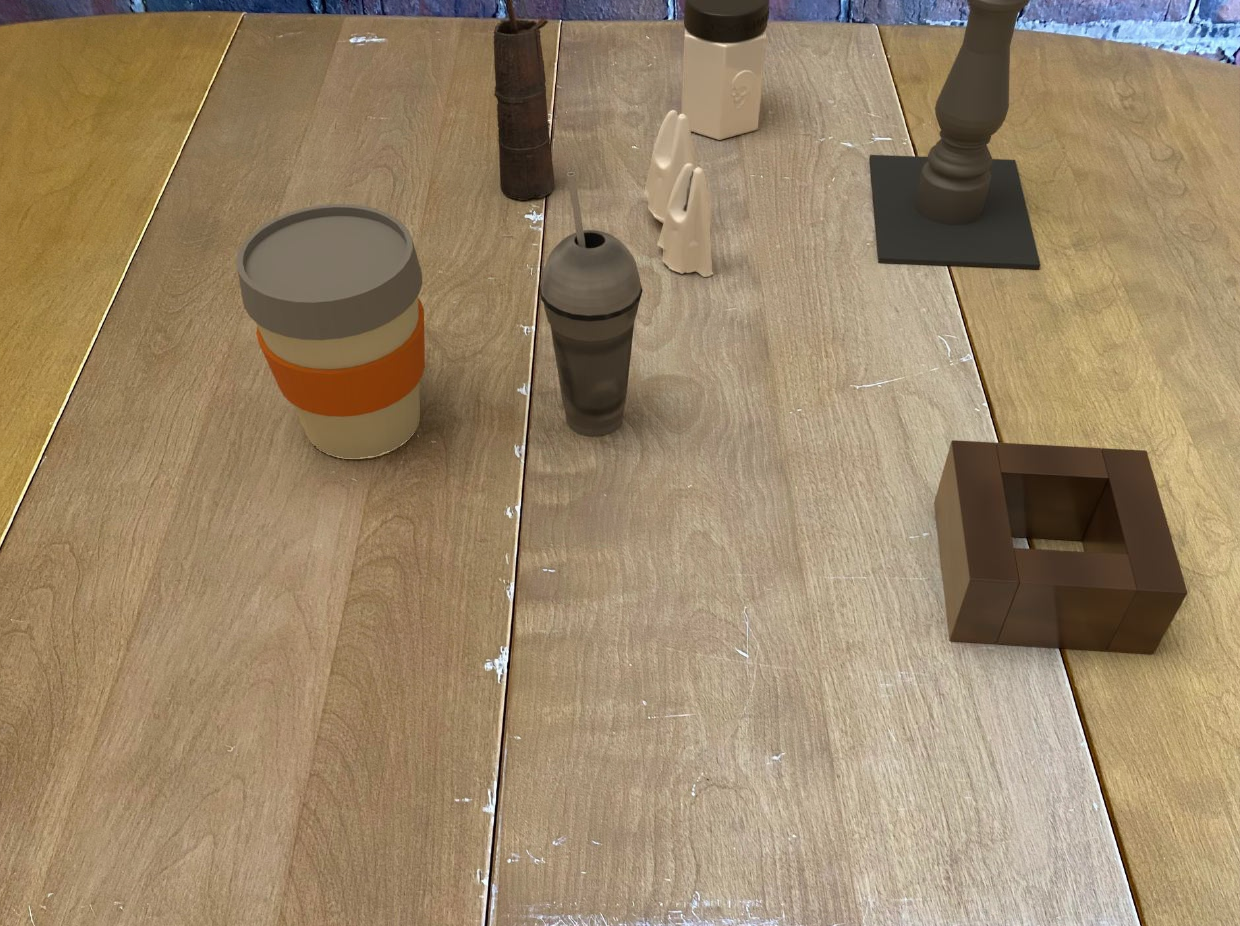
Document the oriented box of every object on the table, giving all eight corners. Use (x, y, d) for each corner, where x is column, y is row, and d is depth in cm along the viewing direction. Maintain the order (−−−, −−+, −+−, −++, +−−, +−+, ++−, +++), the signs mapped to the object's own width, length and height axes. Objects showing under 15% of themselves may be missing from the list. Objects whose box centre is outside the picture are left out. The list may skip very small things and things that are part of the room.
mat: (1014, 164, 115) (1015, 159, 114) (1039, 269, 103) (1040, 264, 103) (869, 159, 116) (869, 154, 115) (878, 262, 104) (879, 257, 104)
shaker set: (642, 209, 111) (643, 92, 102) (685, 204, 111) (690, 88, 103) (668, 281, 103) (671, 162, 95) (714, 276, 104) (722, 157, 95)
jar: (701, 147, 118) (707, 23, 108) (662, 112, 122) (665, -10, 113) (777, 126, 120) (790, 3, 111) (736, 93, 125) (746, -29, 116)
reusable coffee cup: (251, 453, 90) (195, 282, 78) (333, 357, 97) (293, 188, 86) (396, 493, 87) (361, 321, 75) (470, 391, 94) (448, 220, 82)
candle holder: (967, 232, 106) (1043, -73, 87) (904, 212, 109) (964, -89, 89) (993, 200, 110) (1071, -100, 90) (930, 182, 112) (994, -115, 93)
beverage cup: (622, 457, 89) (622, 215, 73) (533, 436, 90) (514, 195, 75) (653, 398, 93) (659, 158, 78) (567, 379, 95) (556, 141, 79)
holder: (1118, 513, 84) (1146, 449, 79) (1153, 654, 76) (1188, 593, 71) (933, 503, 85) (951, 439, 80) (949, 641, 77) (970, 579, 72)
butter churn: (587, 159, 117) (579, -170, 95) (583, 211, 111) (574, -128, 89) (495, 159, 117) (466, -169, 95) (486, 210, 111) (453, -127, 89)
